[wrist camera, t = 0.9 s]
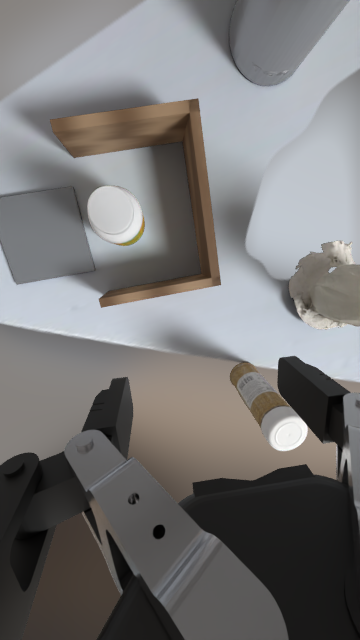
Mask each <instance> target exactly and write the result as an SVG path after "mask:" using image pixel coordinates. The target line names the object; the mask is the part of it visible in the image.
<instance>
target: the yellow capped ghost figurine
mask: <svg viewBox="0 0 360 640" xmlns="http://www.w3.org/2000/svg"><path fill="white" fill-rule="evenodd" d="M351 244H352V242H350V243H349V244H345V243H344V242H343V241H334V242H329V243H324V244H322V245H321V246H322V250H323V252H324V253H315V252H310V253H311V254H309V255H307V256H306V257H304V258H302V259H301V260H300V261H299V263H298V264H299V265H298V266H296V269H297V268H299V267H300V268H299V270H298V271H297V272H296V273H295V274H294V276H292V277H291V279H290V281H289V286H288V287H289V292H290V296H291V298H293V299H294V302H295V306H296V309H297V312H298V314H299V316H300V317H301V318H302V320H303V321H304V322H305V323H306V324H308V325H309V326H311V327H314V328H316V329H325V330H327V329H329V328H333V327H337V326H340V327H343V326H345V325H347V324H350V325H354V326H360V265H356V263H355V262H354V261H353V258H352V255H351V250H352V248H351V247H350V246H351ZM331 267H337V268H336V269H335V270H334V271H333V272H331V273H329V272H328V271H329V269H330V268H331ZM338 328H339V327H338Z"/></svg>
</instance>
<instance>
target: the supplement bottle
mask: <svg viewBox="0 0 360 640" xmlns="http://www.w3.org/2000/svg"><path fill="white" fill-rule="evenodd" d="M87 211H88V219H89V222H90V225H91V227H92V229H93V230H94V231H95V233H96V234H97V235H98V236H99V237H101V238H102V239H104V240H105V241H108V242H110V243H114V244H117V245H121V246H128V245H132V244H134V243H136V242H137V241H138V240H139V239H140V238H141V236H142V234H143V232H144V227H145V222H144V217H143V213H142V209H141V206H140V204H139V202H138V200H137V199H136V197H135V196H134V195H133V194H132V193H131V192H129V191H128V190H126V189H124V188H122V187H119V186H108V185H107V186H101V187H99V188H97V189H96V190H95V191H93V193H92V194H91V195H90V197H89V200H88V204H87Z"/></svg>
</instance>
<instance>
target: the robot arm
mask: <svg viewBox="0 0 360 640" xmlns="http://www.w3.org/2000/svg"><path fill="white" fill-rule="evenodd" d="M349 1H350V0H237V1H236V4H235V7H234V10H233V14H232V17H231V21H230V29H229V41H230V48H231V53H232V56H233V58H234V61H235V63H236V65H237V67H238V68H239V70H240V72H241V73H242V74H243V75H244V76H245V77H246V78H247V79H249V80H250V81H252V82H253V83H255V84H258V85H261V86H272V85H277V84H279V83H281V82H283V81H285V80H286V79H288V78H289V77H290V76H291V75H292V74H293V73H294V72H295V70H296V69H297V68H298V67H299V65H300V64H301V63H302V61H303V60H304V59H305V58H306V56H307V55H308V54H309V52H310V51H311V50H312V49H313V47H314V46H315V45H316V44H317V42H318V41H319V40H320V38H321V37H322V36H323V35H324V33H325V32H326V31H327V29H328V28H329V27H330V25H331V24H332V23H333V22H334V20H335V19H336V18H337V16H338V15H339V14H340V12H341V11H342V10H343V9H344V7H345V6H346V5H347V3H348V2H349ZM278 389H279V392H280V394H281V396H282V397H283V398H284V399H285V400H286V401H287V403H288V404H289V405H290V406H291V407H292V408H293V410H294V411H295V412H296V413H297V414H298V415H299V417H300V418H301V419H302V420H303V421H304V422H305V423H306V425H307V426H308V427H309V428H310V429H311V430H312V432H313V433H314V434H315V435H316V436H317V437H318V438H319V440H320V441H321V442H322V443H323V444H324V443H330V442H335V443H336V444H337V448H336V475H337V476H336V480H334V479H332V478H328V477H324V476H320V475H313V473H312V472H311V471H310V469H309V468H308V466H307V465H306V464H305V465H299V466H293V467H287V468H281V469H277V470H275V471H273V472H271V473H269V474H267V475H265V476H263V477H261V478H258V479H256V480H253V481H249V480H237V479H226V478H220V479H214V480H207V481H201V482H194V483H193V493H194V494H192V495H190V496H188V497H186V498H185V499H183V500H182V501H180V502H179V503H177V502H176V501H175V500H174V499H173V498H172V497H171V496H170V495H169V494H168V493H167V492H166V491H165V490H164V489H163V488H162V486H161V485H160V484H159V483H158V482H157V481H156V480H155V479H154V478H153V477H152V476H151V475H150V474H149V472H148V471H147V470H146V469H145V468H144V467H143V466H142V465H141V464H140V463H139V462H138V461H137V460H136V459H135V458H133V457H131V458H130V459H128V460H127V456H128V448H129V441H130V434H131V427H132V419H133V403H132V398H131V391H130V386H129V380H128V377H123V378H116V379H112V381H111V385H110V388H109V389H107V390H102V391H101V392H100V393H99V394H98V395H97V396H96V397H95V400H94V402H93V406H92V407H91V410H90V412H89V414H88V417H87V419H86V422H85V424H84V427H83V429H82V432H81V433H79V434H77V435H76V436H74V437H73V438H72V439H71V440H70V441H69V442H68V443H67V445H66V447H65V450H64V451H63V452H62V453H59V454H57V455H54V456H52V457H49V458H47V459H44V460H41V461H39V458H38V456H37V455H36V454H34V453H23V454H19V455H17V456H14V457H12V458H11V459H9V460H7V461H6V462H4V463H3V464H2V465H0V640H22V637H23V633H24V630H25V627H26V624H27V620H28V617H29V613H30V610H31V607H32V603H33V600H34V597H35V594H36V591H37V587H38V584H39V581H40V578H41V574H42V571H43V568H44V564H45V561H46V558H47V554H48V551H49V548H50V545H51V541H52V538H53V535H54V532H55V528H56V525H57V524H59V523H61V522H63V521H64V520H67V519H69V518H71V517H73V516H75V515H77V514H79V513H81V512H82V514H83V516H84V518H85V520H86V522H87V523H88V526H89V527H90V529H91V531H92V533H93V535H94V537H95V539H96V541H97V543H98V545H99V547H100V549H101V551H102V553H103V555H104V557H105V560H106V562H107V565H108V567H109V570H110V572H111V575H112V577H113V579H114V581H115V584H116V586H117V588H118V590H119V592H120V594H121V597H120V599H119V600H118V602H117V604H116V606H115V607H114V609H113V611H112V613H111V615H110V616H109V618H108V620H107V622H106V623H105V625H104V627H103V629H102V631H101V633H100V634H99V636H98V638H97V639H96V640H360V393H350V392H349V391H348V390H346V389H345V388H344V387H342V386H341V385H340V384H338V383H337V382H335V381H334V380H333V379H331V378H330V377H329V376H327V375H325V374H324V373H323V372H322V371H320V370H319V369H318V368H316V367H313V366H311V365H309V364H305V363H304V362H303V361H301V360H300V359H299V358H297V357H296V356H290V357H282V358H280V359H279V362H278Z"/></svg>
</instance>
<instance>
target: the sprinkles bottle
mask: <svg viewBox="0 0 360 640" xmlns="http://www.w3.org/2000/svg"><path fill="white" fill-rule="evenodd" d="M230 380H231V382H232V384H233V385H234V386H235V388H236V389H237V391H238V392H239V395H240V397H241V398H242V400H243V401H244V403H245V404H246V406H247V407H248V409H249V410H250V412H251V413H252V414H253V416H254V418H255V420H256V421H257V422H258V424H259V426H260V428H261V430H262V433H263V435H264V437H265V438H266V440H267V441H268V443H269V444H270V445H271V446H272V447H273V448H274V449H276V450H280V451H288V450H292V449H294V448H296V447H298V446H299V445H300V444H301V443H302V442H303V441H304V440H305V438H306V435H307V425H306V423H305V422H304V421H303V420H302V419H301V418H300V417H299V415H298V414H297V413H296V412H295V411H294V410H293V408H291V407H290V406H289V405H287V403H286V402H285V401H284V400H283V399H282V397H281V396H280V395H279V393H278V392H277V391H276V390H275V389H274V388H273V387H272V386H271V385H270V384H269V383H268V382H267V380H266V379H265V378H264V377H263V376H262V375H261V374H260V373H259V372H258V371H257V370H256V368H255V366H253V365H252V364H250V363H240V364H238V365H236V366H235V367H234V368H233V369H232V371H231V373H230Z"/></svg>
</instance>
